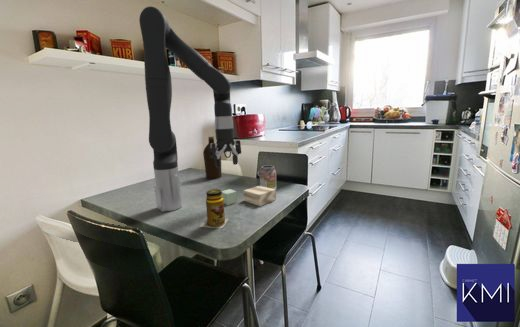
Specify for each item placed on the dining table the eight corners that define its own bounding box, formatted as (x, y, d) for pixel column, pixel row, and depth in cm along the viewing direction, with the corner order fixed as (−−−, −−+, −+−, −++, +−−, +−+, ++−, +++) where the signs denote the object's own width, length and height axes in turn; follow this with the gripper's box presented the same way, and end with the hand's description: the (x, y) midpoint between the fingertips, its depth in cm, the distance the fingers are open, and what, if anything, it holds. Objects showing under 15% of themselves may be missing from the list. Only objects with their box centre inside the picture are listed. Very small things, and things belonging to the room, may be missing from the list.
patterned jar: (264, 194, 118) (263, 169, 115) (255, 190, 124) (254, 166, 122) (279, 190, 122) (279, 166, 120) (270, 186, 129) (269, 164, 127)
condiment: (222, 228, 84) (220, 194, 81) (198, 227, 85) (195, 194, 83) (228, 219, 91) (226, 188, 88) (206, 218, 92) (204, 187, 90)
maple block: (259, 206, 103) (259, 195, 102) (244, 201, 110) (243, 190, 109) (275, 200, 110) (275, 189, 109) (260, 195, 117) (259, 185, 116)
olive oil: (220, 179, 148) (217, 137, 143) (203, 179, 149) (199, 137, 144) (224, 175, 158) (221, 135, 153) (208, 175, 159) (205, 136, 154)
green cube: (227, 205, 105) (226, 194, 104) (221, 202, 109) (220, 191, 108) (237, 202, 108) (236, 191, 107) (230, 199, 112) (229, 189, 111)
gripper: (214, 129, 95) (217, 170, 98) (243, 126, 104) (245, 164, 107) (204, 128, 100) (207, 167, 104) (233, 126, 110) (235, 162, 113)
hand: (227, 165), depth 105 cm, fingers open, 8 cm apart
